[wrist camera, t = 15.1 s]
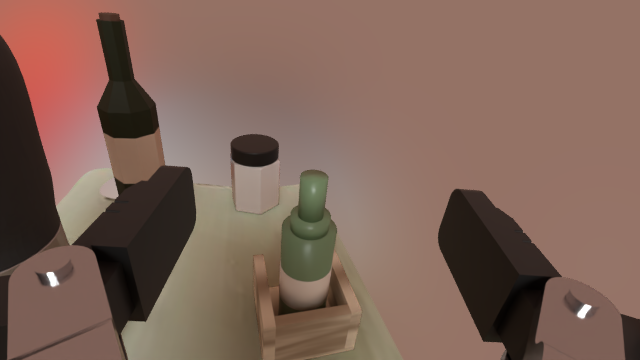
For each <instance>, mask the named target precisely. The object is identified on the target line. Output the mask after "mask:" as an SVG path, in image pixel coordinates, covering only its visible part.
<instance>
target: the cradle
mask: <svg viewBox="0 0 640 360" xmlns="http://www.w3.org/2000/svg"><path fill="white" fill-rule="evenodd" d="M253 267H254V299H255V307H256V315H257V323H258V331H259V339H260V347H261V355H262V360H305V359H310V358H315V357H320V356H325V355H330V354H335V353H339V352H344V351H349V350H354V346H355V341H356V337H357V333H358V328H359V324H360V320H361V315H362V310H361V307H360V305H359V303H358V301H357V298H356V296H355V294H354V292H353V289H352V287H351V285H350V283H349V280H348V278H347V276H346V273H345V271H344V269H343V267H342V264H341V262H340V260H339V258H338V255H337V253H336V251H335V249H334V254H333V260H332V270H331V277H330V283H329V290H328V296H327V301H326V307H325V308H322V309H316V310H310V311H304V312H298V313H292V314H286V315H280V316H278V309H279V286H275V287H269V285H268V279H267V273H266V267H265V262H264V256H263V254H262V255H253Z"/></svg>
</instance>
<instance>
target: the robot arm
mask: <svg viewBox="0 0 640 360" xmlns="http://www.w3.org/2000/svg"><path fill="white" fill-rule="evenodd" d="M195 221H196V206H195V197H194V189H193V180H192V173H191V170H190V168H188V167H177V166H176V167H175V166H164V165H163V166H160V167H159V168H158V170H157V171H156V172H155V173H154V174H153V175H152V176H151V177H150V179H149V180H148V181H143V180H141V181H140V182H138V183H136V184H134V185H132V186H130V187H128V188H127V189H125V190H124V191H123V192H122V193H121V194H120V195H119V196H118V197H117V198H116V199H115V202H114V203H112V204H111V205H110V206H109V207H108V208H107V209H106V212H103V213H102V214H101V215H100V216H99V217H98V218H97V219H96V220H95V221H94V222H93V223H92V224H91V225H90V226H89V228H88V229H87V230H86V231H85V232H84V233H83V234H82V235H81V236H80V237H79V238H78V239H77V240H76V241H75V242H74V243H73V244H72V245H69V243H68V240H67V237H66V234H65V232H64V229H63V226H62V224H61V221H60V217H59V215H58V212H57V209H56V205H55V198H54V190H53V182H52V177H51V172H50V169H49V166H48V163H47V159H46V156H45V153H44V149H43V146H42V143H41V139H40V136H39V132H38V128H37V125H36V121H35V117H34V113H33V110H32V106H31V102H30V98H29V95H28V91H27V88H26V85H25V82H24V79H23V76H22V74H21V71H20V68H19V66H18V64H17V61H16V59H15V57H14V56H13V54H12V52H11V50H10V48H9V46H8V45H7V44H6V42H5V41H4V39H3V38H2V37H1V35H0V360H128V356H127V353H126V349H125V346H124V342H123V339H122V336H121V332H122V330H123V328H124V327H125V325H126V323H127V321H144V322H146V320H147V318H148V316H149V314H150V313H151V311H152V309H153V307H154V305H155V303H156V301H157V299H158V297H159V295H160V293H161V291H162V289H163V287H164V285H165V284H166V282H167V280H168V278H169V276H170V274H171V272H172V270H173V268H174V266H175V264H176V262H177V260H178V258H179V256H180V255H181V253H182V251H183V249H184V247H185V245H186V243H187V241H188V239H189V237H190V235H191V233H192V231H193V229H194V226H195ZM438 243H439V247H440V250H441V252H442V254H443V256H444V258H445V260H446V263H447V265H448V267H449V269H450V271H451V273H452V275H453V278H454V280H455V282H456V284H457V286H458V288H459V290H460V293H461V295H462V297H463V299H464V301H465V303H466V305H467V308H468V310H469V312H470V314H471V316H472V318H473V320H474V323H475V325H476V327H477V329H478V331H479V333H480V335H481V337H482V340H483V341H484V342H502V343H503V344H504V346H505V348H506V350H505V352H504V353H503V355H502V357H501V360H640V319H636V318H633V317H629V316H626V315H623V314H620V313H619V311H618V309H617V308H616V307H615V305H614V304H613V303H612V302H611V301H610V300H609V299H608V298H607V297H605V296H604V295H603V294H601V293H600V292H598V291H597V290H595V289H594V288H592V287H590V286H588V285H586V284H584V283H582V282H579V281H577V280H573V279H570V278H565V277H562V276H561V275H560V274H559V273H558V272H557V270H556V269H555V268H554V267H553V266H552V264H551V263H550V262H549V261H548V260H547V259H546V257H545V256H544V255H543V254H542V253H541V251H540V250H539V249H538V248H537V247H536V246H535V244H533V243H531V240H530V239H529V237H528V236H527V235H526V234H525V233H523V230H522V229H521V228H520V227H519V225H518V224H517V223H516V222H515V221H514V219H513V218H511V217H510V216H508V215H507V214H505V213H504V212H503V211H501V210H500V209H498V208H496V207H495V206H494V205H493V204H492V202H491V201H490V200H489V199H488V198H487V196H486V195H485V194H484V193H483V192H482V191H477V190H464V189H455V190H454V191H453V192H452V194H451V196H450V199H449V202H448V205H447V208H446V211H445V214H444V217H443V219H442V222H441V225H440V228H439V233H438Z"/></svg>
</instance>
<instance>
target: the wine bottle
mask: <svg viewBox="0 0 640 360" xmlns="http://www.w3.org/2000/svg"><path fill="white" fill-rule="evenodd" d="M99 18H100V19H97V20H96V21H97V25H98V30H99V35H100V39H101V44H102V48H103V53H104V57H105V62H106V66H107V71H108V76H109V82H108V84H107V86H106V88H105V91H104V93H103V95H102V97H101V100H100V102H99V104H98V106H97V110H98V114H99V118H100V121H101V126H102V129H103V134H104V138H105V141H106V146H107V150H108V154H109V158H110V162H111V166H112V170H113V174H114V178H115V182H116V186H117V190H118V194H119V195H120V194H121V193H122V192H123V191H124V190H125V189H127V188H128V187H130V186H132V185H134V184H136V183H138V182H140V181H141V180H143V181H148V180H149V179H150V177H151V176H152V175H153V174H154V173H155V172H156V171H157V170H158V168H159V167H160V166H163V165H164V166H165V161H164V155H163V148H162V142H161V137H160V129H159V123H158V116H157V110H156V104H155V102H154V101H153V100H152V99H151V97H150V96H149V95H148V94H147V93H146V92H145V90H144V89H143V88H142V87H141V86H140V85H139V84H138V83H137V81H136V80H135V79H134V74H133V69H132V63H131V58H130V52H129V47H128V41H127V36H126V30H125V25H124V21H123V20H120V17H119V14H116V13H99Z"/></svg>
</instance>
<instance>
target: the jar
mask: <svg viewBox="0 0 640 360" xmlns="http://www.w3.org/2000/svg"><path fill="white" fill-rule="evenodd" d="M278 149H279V144H278V142H277V141H276V140H275V139H273V138H271V137H269V136H264V135H258V134H250V135H243V136H239V137H237V138H235V139H233V140H232V142H231V154H230V158H231V179H232V197H233V201H234V204H235V208H236V210H237V211H243V212H249V213H255V214H262V213H264V212H266V211H268V210H270V209H271V208H273V207H275V206H277V205H278V204H279V176H280V160H279V159H278V151H279V150H278Z"/></svg>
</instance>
